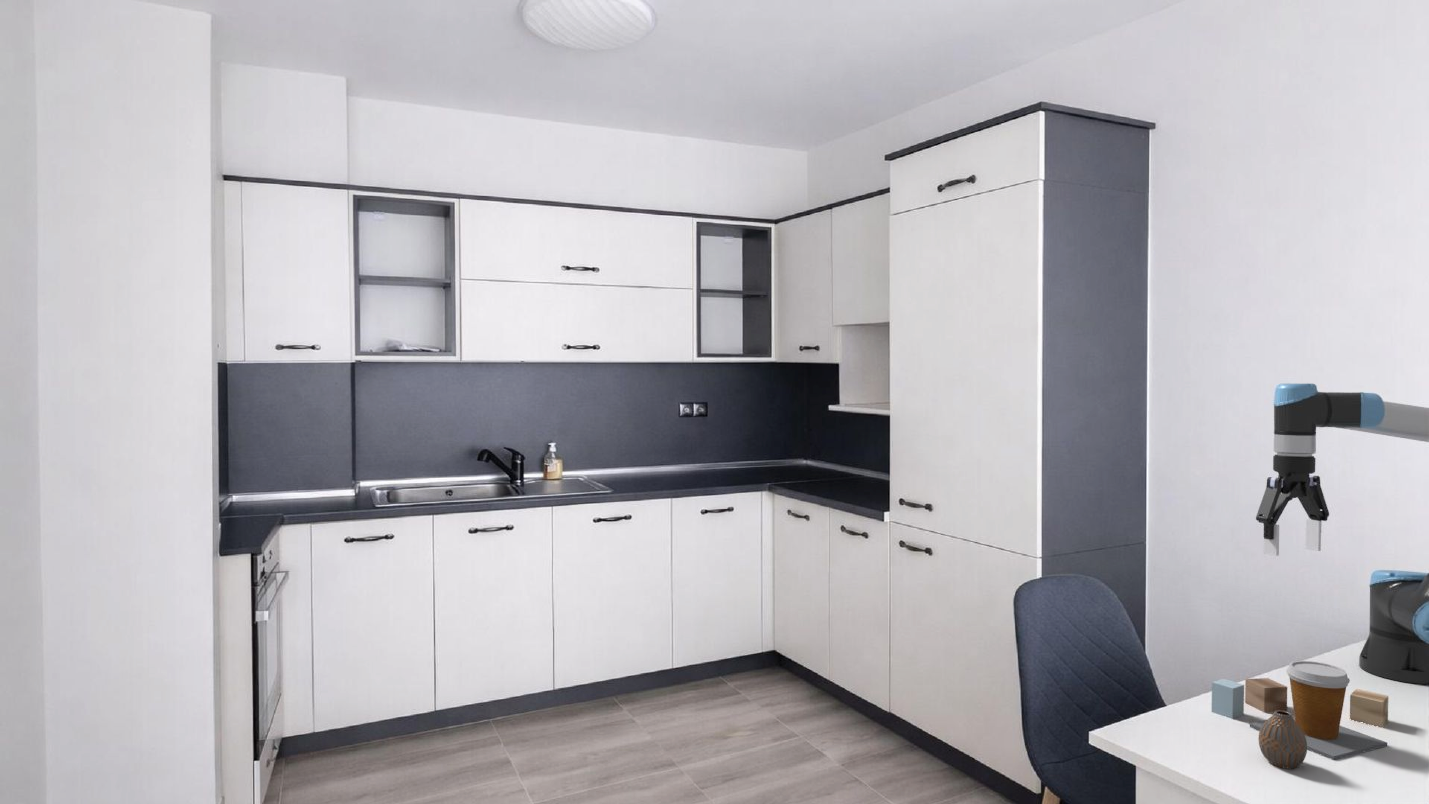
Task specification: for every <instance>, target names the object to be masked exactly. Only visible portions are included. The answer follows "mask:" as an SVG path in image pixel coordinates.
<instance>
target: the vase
mask: <svg viewBox="0 0 1429 804" xmlns="http://www.w3.org/2000/svg"><path fill="white" fill-rule="evenodd" d="M1291 714H1292V713H1291V712H1289V711H1281V710H1277V711H1275V712H1273V713H1272V715H1271V716H1270V717H1269V718H1268V719H1266V720H1267V721H1266V722H1264V724H1263V725H1262V727H1261V729H1260V731H1259V732H1258V747H1259V749H1260V751H1261V754H1262V755H1263V757H1264V759H1266V760H1267V761H1268V762H1269V763H1270V764H1272V765H1274V766H1276V767H1279V768H1283V767H1284V768H1285V769H1295V768H1297V767H1299V766H1300V765H1301V764H1302V763H1304V761H1305V759H1306V756H1307V753H1308V750H1307V741H1306V738H1305V735H1304V733H1303V731H1302V730H1301V728H1300V727H1299V726H1298V724H1297V723H1296V722H1295V721H1294V719H1293V717H1292V715H1291Z"/></svg>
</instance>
